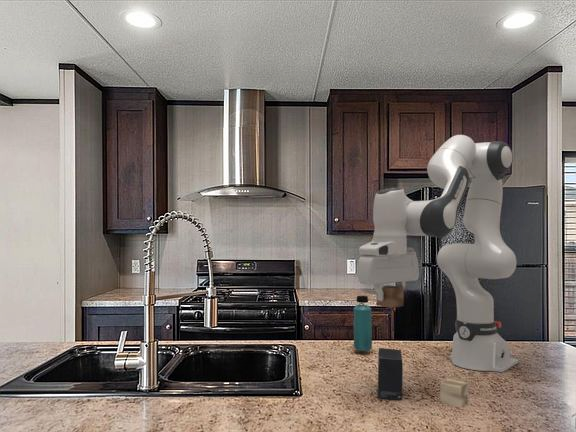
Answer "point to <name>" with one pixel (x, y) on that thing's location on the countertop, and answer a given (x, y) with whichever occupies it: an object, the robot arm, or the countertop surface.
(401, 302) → the walnut cube
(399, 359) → the small box
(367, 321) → the beverage bottle
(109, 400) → the countertop surface
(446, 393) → the maple cube
